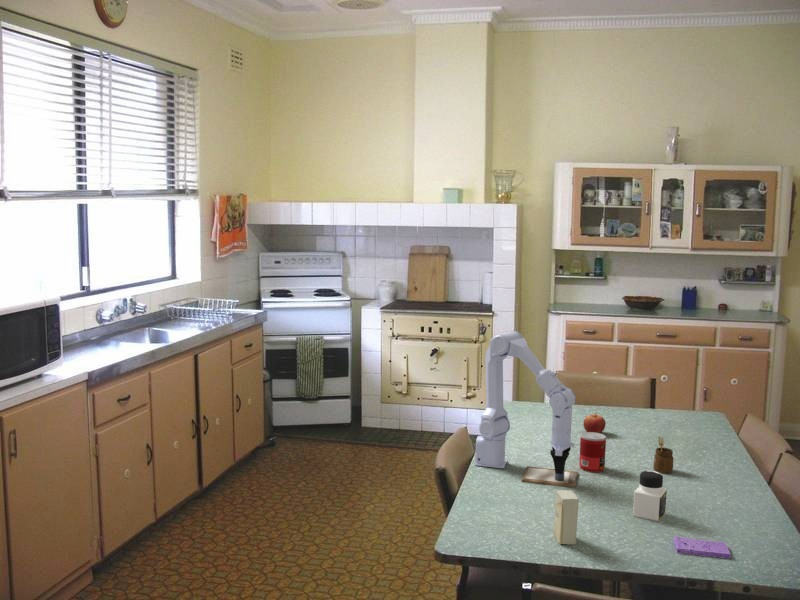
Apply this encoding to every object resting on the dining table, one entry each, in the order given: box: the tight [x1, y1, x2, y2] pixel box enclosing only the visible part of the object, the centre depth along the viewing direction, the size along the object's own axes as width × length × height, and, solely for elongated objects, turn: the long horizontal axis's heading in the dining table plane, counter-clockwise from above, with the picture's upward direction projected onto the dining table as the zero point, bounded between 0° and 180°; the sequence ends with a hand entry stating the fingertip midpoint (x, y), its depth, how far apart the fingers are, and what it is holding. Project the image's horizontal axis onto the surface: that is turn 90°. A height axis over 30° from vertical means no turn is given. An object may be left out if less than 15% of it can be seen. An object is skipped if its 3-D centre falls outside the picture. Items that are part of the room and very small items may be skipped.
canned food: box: [578, 431, 607, 473], centre depth 254 cm, size 8×8×11 cm
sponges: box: [673, 536, 731, 559], centre depth 196 cm, size 7×13×2 cm, turn 77°
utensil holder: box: [653, 435, 674, 475], centre depth 253 cm, size 6×6×12 cm
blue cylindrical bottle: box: [555, 465, 566, 481], centre depth 242 cm, size 3×3×8 cm
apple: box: [583, 412, 607, 434], centre depth 293 cm, size 8×8×8 cm
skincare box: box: [552, 489, 580, 546], centre depth 200 cm, size 6×4×12 cm
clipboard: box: [521, 465, 579, 488], centre depth 246 cm, size 16×13×1 cm
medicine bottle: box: [632, 470, 667, 522], centre depth 217 cm, size 7×7×12 cm
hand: (559, 471), depth 242 cm, fingers closed on blue cylindrical bottle, 3 cm apart
